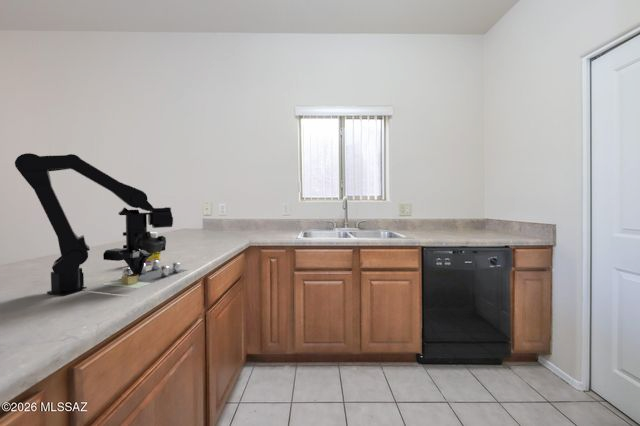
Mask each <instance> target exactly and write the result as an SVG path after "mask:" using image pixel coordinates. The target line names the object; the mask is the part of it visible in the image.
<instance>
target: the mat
mask: <svg viewBox="0 0 640 426" xmlns="http://www.w3.org/2000/svg"><path fill="white" fill-rule="evenodd" d="M187 271H188V269H181V268H180V273H173V268H170V267H169V277H161V267H159V270H157V271H151V269H150V270H146V274H143V275H140V276H139V282H138V283H137V284H131V285H123V284H122V278H119V279H115V280H113V281H109V282H106V283H102V284H101V285H104V286H112V287H113V286H114V287H123V288H131V289H132V288H133V289H138V288H142V287H144V286H146V285H149V284H153V283H156V282H159V281H162V280H164V279H167V278H170V277H172V276H175V275H178V274H182V273H184V272H187Z"/></svg>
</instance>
